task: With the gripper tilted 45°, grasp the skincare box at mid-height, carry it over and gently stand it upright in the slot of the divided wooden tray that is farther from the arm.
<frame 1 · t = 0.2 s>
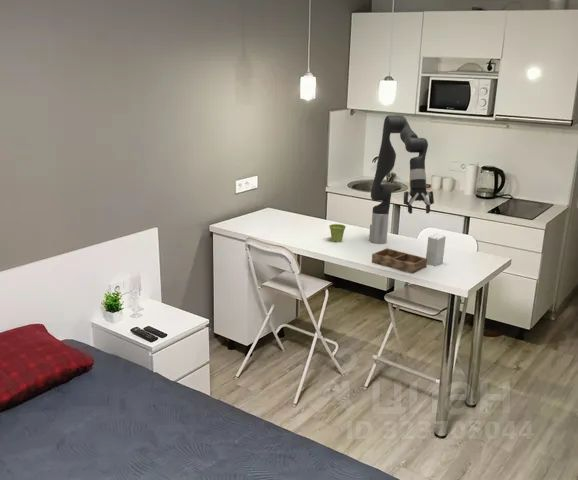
hand: (419, 213, 290), 31 cm above the table, tool tilted 20°, fingers open, 8 cm apart
skincare box: (434, 263, 317), on the table
divided wooden tray: (398, 264, 314), on the table
plant pot: (336, 240, 352), on the table
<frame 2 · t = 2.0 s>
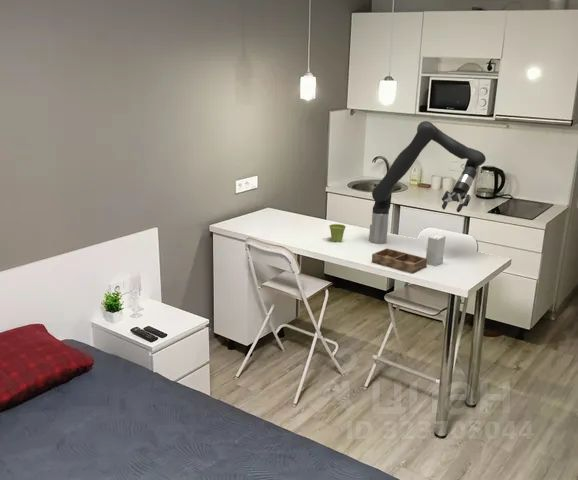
hand: (450, 210, 318), 26 cm above the table, tool tilted 45°, fingers open, 8 cm apart
nothing on the table moved.
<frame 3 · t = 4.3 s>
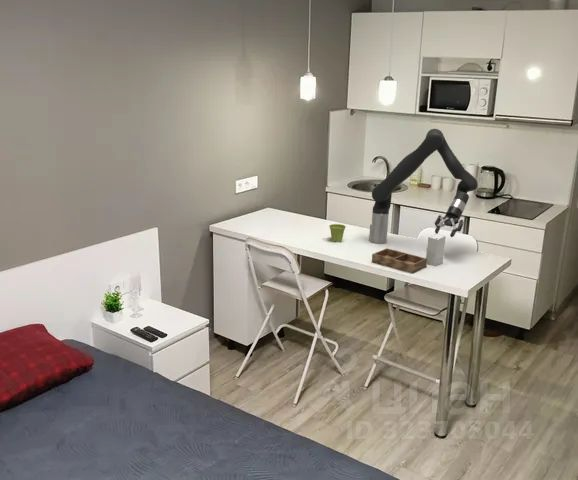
hand: (443, 234, 319), 14 cm above the table, tool tilted 45°, fingers open, 8 cm apart
nothing on the table moved.
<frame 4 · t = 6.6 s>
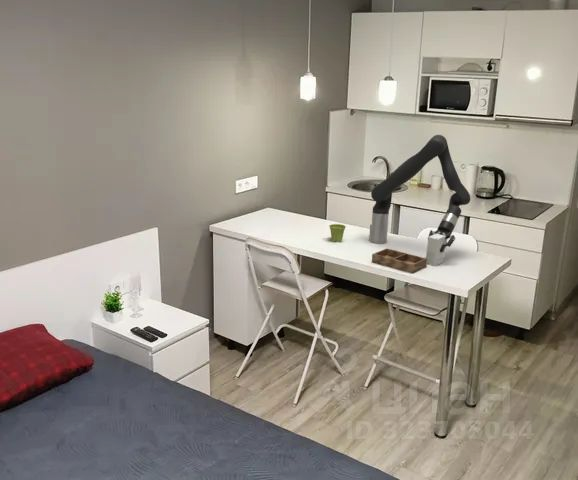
hand: (435, 250, 315), 7 cm above the table, tool tilted 45°, fingers closed on skincare box, 6 cm apart
skincare box: (434, 263, 317), on the table, touching gripper
everything else where it was.
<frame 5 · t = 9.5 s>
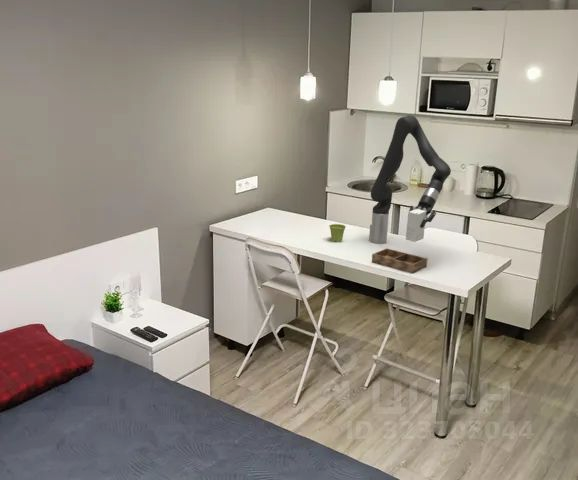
hand: (415, 225, 304), 22 cm above the table, tool tilted 45°, fingers closed on skincare box, 6 cm apart
skincare box: (414, 239, 307), point 14 cm above the table, touching gripper
everything else where it was.
when the fingers open (10 cm above the table, at t = 12.6 s): skincare box drops 1 cm, resting on divided wooden tray.
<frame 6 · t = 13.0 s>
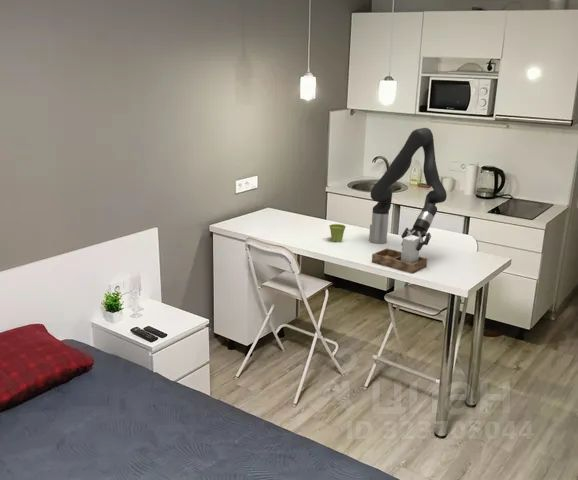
hand: (410, 248, 307), 10 cm above the table, tool tilted 45°, fingers open, 8 cm apart
skincare box: (409, 265, 310), point 1 cm above the table, touching divided wooden tray
everything else where it was.
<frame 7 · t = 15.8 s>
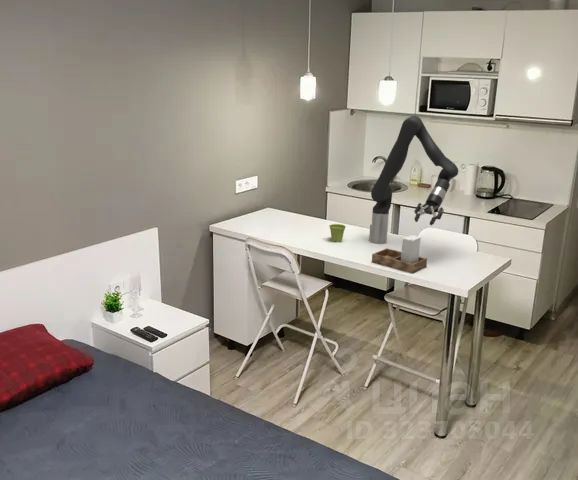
hand: (423, 222, 312), 21 cm above the table, tool tilted 45°, fingers open, 8 cm apart
nothing on the table moved.
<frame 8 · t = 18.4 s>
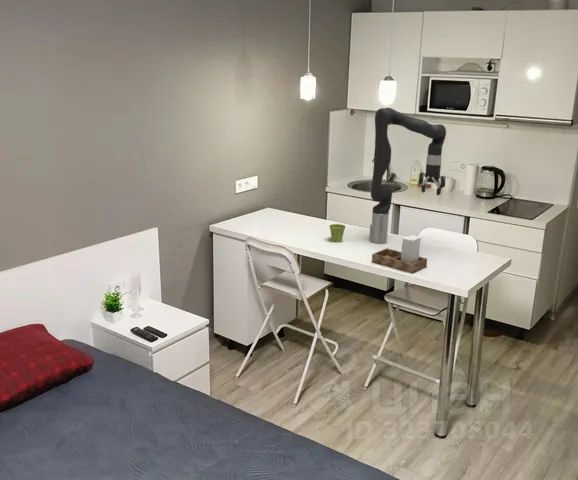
hand: (430, 193, 324), 33 cm above the table, tool pointing down, fingers open, 8 cm apart
nothing on the table moved.
at the end: skincare box 0.2 cm from the target spot on the divided wooden tray, point 0.8 cm above the divided wooden tray's base; skincare box tilted 0°; the gripper is holding nothing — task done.
